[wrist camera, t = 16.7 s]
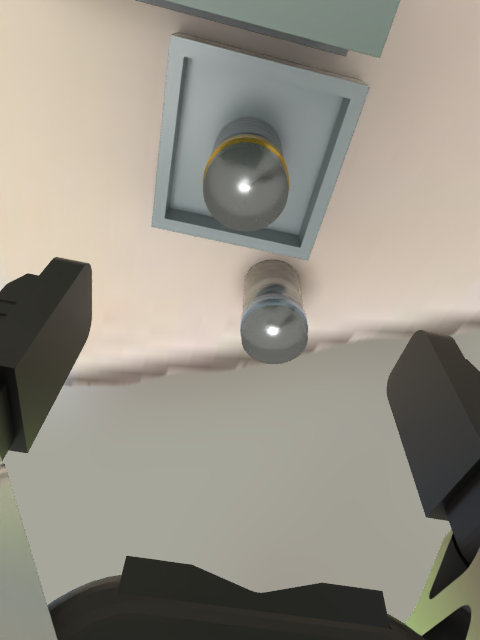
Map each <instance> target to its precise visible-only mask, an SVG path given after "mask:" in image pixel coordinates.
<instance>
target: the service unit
mask: <svg viewBox="0 0 480 640" xmlns="http://www.w3.org/2000/svg"><path fill="white" fill-rule="evenodd" d="M137 1H140V2H144V3H148V4H152V5H155V6H159V7H163V8H167V9H170V10H174V11H178V12H182V13H185V14H189V15H193V16H197V17H200V18H204V19H208V20H212V21H215V22H219V23H223V24H227V25H230V26H234V27H238V28H241V29H245V30H249V31H253V32H256V33H260V34H264V35H268V36H271V37H275V38H279V39H283V40H286V41H290V42H294V43H298V44H301V45H305V46H309V47H313V48H316V49H320V50H324V51H328V52H331V53H335V54H339V55H343V56H346V54H347V51H348V50H352V51H355V52H359V53H363V54H367V55H370V56H374V57H378V58H380V56H381V53H382V50H383V47H384V45H385V42H386V39H387V36H388V33H389V31H390V28H391V25H392V22H393V19H394V16H395V14H396V11H397V8H398V5H399V2H400V0H137Z"/></svg>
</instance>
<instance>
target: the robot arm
mask: <svg viewBox="0 0 480 640" xmlns="http://www.w3.org/2000/svg"><path fill="white" fill-rule="evenodd" d="M91 320H92V270H91V266H90V264H89V263H84V262H79V261H74V260H69V259H64V258H59V257H55V258H54V259H53V260H52V261H51V262H50V263H49V264H48V265H47V267H46V268H45V269H44V270H43V272H42V273H41V274H40V275H39V276H38V275H33V274H26V275H24V276H22V277H20V278H18V279H16V280H14V281H12V282H10V283H8V284H7V285H6V286H5V287H4V288H3V289H2V290H1V291H0V640H480V371H478V370H477V369H476V368H475V367H474V366H473V365H472V364H471V363H470V362H469V361H468V360H467V359H465V358H464V356H463V355H462V353H461V351H460V349H459V347H458V346H457V344H456V342H455V340H454V339H453V338H452V337H451V336H448V335H443V334H438V333H433V332H428V331H423V330H419V331H417V332H416V333H414V335H413V336H412V337H411V339H410V341H409V343H408V344H407V346H406V348H405V349H404V351H403V353H402V354H401V356H400V358H399V360H398V361H397V363H396V365H395V367H394V368H393V370H392V372H391V374H390V376H389V379H388V383H387V397H388V400H389V404H390V406H391V410H392V413H393V416H394V419H395V422H396V425H397V428H398V431H399V434H400V438H401V441H402V444H403V447H404V450H405V453H406V456H407V459H408V462H409V466H410V469H411V472H412V475H413V478H414V481H415V484H416V487H417V490H418V493H419V497H420V500H421V503H422V506H423V509H424V512H425V515H426V517H428V518H434V519H440V520H447V521H449V523H450V525H451V528H452V529H451V530H450V531H449V532H448V533H447V534H446V535H445V537H444V539H443V541H442V544H441V546H440V549H439V551H438V554H437V556H436V559H435V561H434V564H433V566H432V568H431V571H430V573H429V576H428V579H427V581H426V584H425V586H424V589H423V591H422V593H421V596H420V598H419V601H418V603H417V605H416V607H415V609H414V610H413V612H412V614H411V615H410V617H409V618H408V619H407V620H406V622H405V623H402V622H401V621H399V620H397V619H396V618H394V617H392V616H391V615H389V614H387V611H386V607H385V602H384V597H383V592H382V591H377V590H370V589H363V588H356V587H349V586H342V585H334V584H327V583H319V584H312V585H307V586H301V587H295V588H289V589H283V590H277V591H272V592H266V593H257V592H253V591H250V590H248V589H246V588H243V587H241V586H239V585H236V584H234V583H232V582H230V581H228V580H225V579H223V578H220V577H218V576H216V575H214V574H212V573H209V572H207V571H205V570H203V569H200V568H198V567H196V566H194V565H189V564H182V563H175V562H167V561H160V560H154V559H146V558H139V557H132V556H126V560H125V564H124V568H123V572H122V575H118V576H112V577H106V578H103V579H100V580H97V581H93V582H90V583H88V584H85V585H83V586H80V587H78V588H76V589H74V590H72V591H70V592H68V593H67V594H65V595H63V596H61V597H59V598H58V599H56V600H54V601H53V602H52V603H50V604H49V605H47V603H46V600H45V596H44V593H43V590H42V586H41V583H40V580H39V576H38V573H37V569H36V566H35V563H34V559H33V556H32V553H31V549H30V546H29V543H28V539H27V536H26V533H25V529H24V526H23V523H22V519H21V516H20V513H19V509H18V506H17V503H16V500H15V496H14V492H13V489H12V486H11V482H10V479H9V476H8V473H7V470H6V467H5V464H3V463H2V461H3V459H4V457H5V455H6V454H7V452H8V450H11V451H17V452H23V453H28V451H29V449H30V448H31V446H32V444H33V442H34V440H35V438H36V436H37V434H38V432H39V430H40V428H41V427H42V424H43V423H44V421H45V419H46V417H47V415H48V413H49V411H50V409H51V407H52V406H53V404H54V402H55V400H56V398H57V396H58V394H59V392H60V390H61V388H62V386H63V385H64V383H65V381H66V379H67V377H68V375H69V373H70V371H71V369H72V367H73V365H74V364H75V362H76V360H77V358H78V356H79V354H80V352H81V350H82V348H83V346H84V344H85V343H86V340H87V338H88V335H89V331H90V327H91Z"/></svg>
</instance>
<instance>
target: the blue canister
mask: <svg viewBox="0 0 480 640" xmlns="http://www.w3.org/2000/svg"><path fill="white" fill-rule="evenodd" d="M307 333H308V325H307V319H306V313H305V311H304V309H303V302H302V296H301V289H300V283H299V277H298V275H297V273H296V271H295V270H294V269H293V268H292V267H291V266H290V265H289V264H287V263H285V262H282V261H278V260H267V261H263V262H260V263H258V264H256V265H254V266H253V267H252V268H251V269H250V270H249V271H248V273H247V275H246V277H245V281H244V298H243V313H242V316H241V337H242V345H243V348H244V350H245V351H246V352H247V353H248V355H250V356H251V357H252V358H254V359H255V360H257V361H260V362H263V363H267V364H281V363H285V362H288V361H291V360H292V359H295V358H296V357H298V356H299V355H300V354H301V353H302V352H303V350H304V349H305V347H306V345H307V340H308V335H307Z"/></svg>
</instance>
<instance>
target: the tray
mask: <svg viewBox="0 0 480 640" xmlns="http://www.w3.org/2000/svg"><path fill="white" fill-rule="evenodd" d="M369 88H370V87H369V86H368V85H367V84H365V83H364V82H362V81H361V80H357V79H354V78H350V77H346V76H342V75H338V74H335V73H331V72H327V71H323V70H319V69H315V68H312V67H308V66H304V65H300V64H296V63H293V62H289V61H285V60H281V59H277V58H273V57H270V56H266V55H262V54H258V53H254V52H251V51H247V50H243V49H239V48H235V47H231V46H228V45H224V44H220V43H216V42H212V41H209V40H205V39H201V38H197V37H193V36H189V35H186V34H182V33H175V34H172V35H170V45H169V55H168V65H167V75H166V85H165V95H164V105H163V115H162V125H161V135H160V145H159V155H158V165H157V175H156V185H155V195H154V206H153V216H152V226H151V227H155V228H159V229H164V230H169V231H173V232H178V233H183V234H188V235H192V236H197V237H202V238H206V239H211V240H216V241H220V242H225V243H230V244H234V245H239V246H244V247H248V248H253V249H258V250H262V251H267V252H272V253H277V254H281V255H286V256H291V257H295V258H300V259H305V260H308V259H309V256H310V253H311V251H312V248H313V245H314V242H315V239H316V237H317V234H318V231H319V228H320V225H321V223H322V220H323V217H324V214H325V211H326V209H327V206H328V203H329V200H330V197H331V195H332V192H333V189H334V186H335V183H336V181H337V178H338V175H339V172H340V169H341V167H342V164H343V161H344V158H345V155H346V152H347V150H348V147H349V144H350V141H351V138H352V136H353V133H354V130H355V127H356V124H357V122H358V119H359V116H360V113H361V110H362V108H363V105H364V102H365V99H366V96H367V94H368V91H369ZM241 117H255V118H259V119H261V120H263V121H265V122H267V123H268V124H269V125H271V126H272V127H273V129H274V130H275V131H276V133H277V134H278V136H279V138H280V141H281V146H282V151H283V157H284V159H285V161H286V164H287V169H288V174H289V182H290V185H289V193H288V199H287V203H286V205H285V208H284V210H283V211H282V213H281V214H280V216H279V217H278V218H277V219H276V220H275V221H274V222H273V223H271V224H270V225H268V226H266V227H264V228H262V229H259V230H256V231H249V232H243V231H236V230H233V229H230V228H227V227H226V226H224V225H222V224H221V223H219V222H218V221H217V220H216V219H215V218H214V217H213V216H212V215H211V213H210V212H209V210H208V208H207V206H206V204H205V201H204V196H203V175H204V171H205V168H206V165H207V162H208V159H209V157H210V155H211V153H212V151H213V148H214V145H215V142H216V139H217V136H218V135H219V133H220V131H221V130H222V129H223V128H224V127H225V126H226V125H227V124H228V123H229V122H231V121H233V120H235V119H237V118H241Z"/></svg>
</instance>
